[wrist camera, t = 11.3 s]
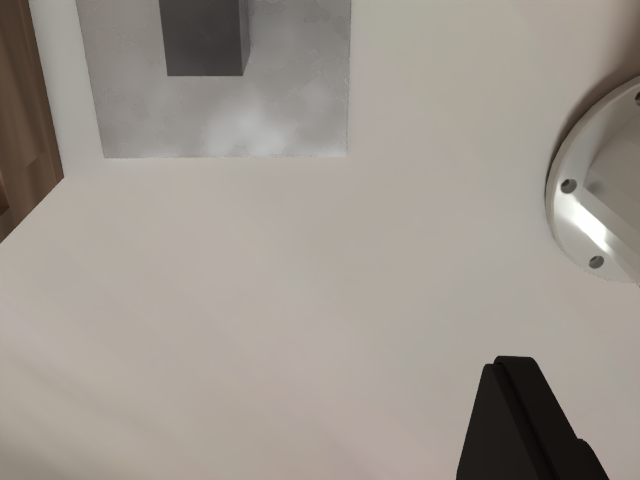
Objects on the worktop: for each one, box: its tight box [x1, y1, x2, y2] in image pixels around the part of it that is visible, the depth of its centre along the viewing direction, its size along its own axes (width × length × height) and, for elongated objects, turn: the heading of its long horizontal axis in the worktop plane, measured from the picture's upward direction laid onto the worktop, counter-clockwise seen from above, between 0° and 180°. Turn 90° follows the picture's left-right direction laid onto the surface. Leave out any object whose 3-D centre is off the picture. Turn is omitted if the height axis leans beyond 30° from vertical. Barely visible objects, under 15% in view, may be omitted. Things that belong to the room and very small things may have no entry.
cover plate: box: [76, 0, 351, 158], centre depth 24 cm, size 13×15×6 cm
